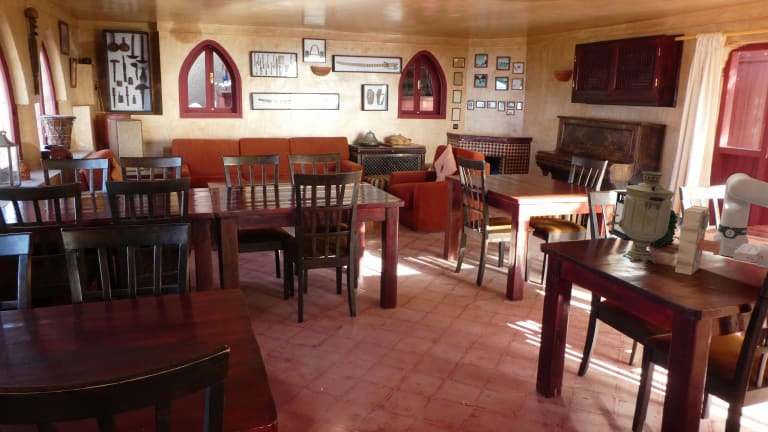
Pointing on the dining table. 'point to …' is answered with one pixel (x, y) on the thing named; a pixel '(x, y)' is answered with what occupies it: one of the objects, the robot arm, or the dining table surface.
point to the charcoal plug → (704, 221)
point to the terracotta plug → (709, 246)
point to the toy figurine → (668, 236)
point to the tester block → (691, 240)
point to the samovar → (645, 214)
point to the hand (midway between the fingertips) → (724, 248)
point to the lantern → (620, 213)
